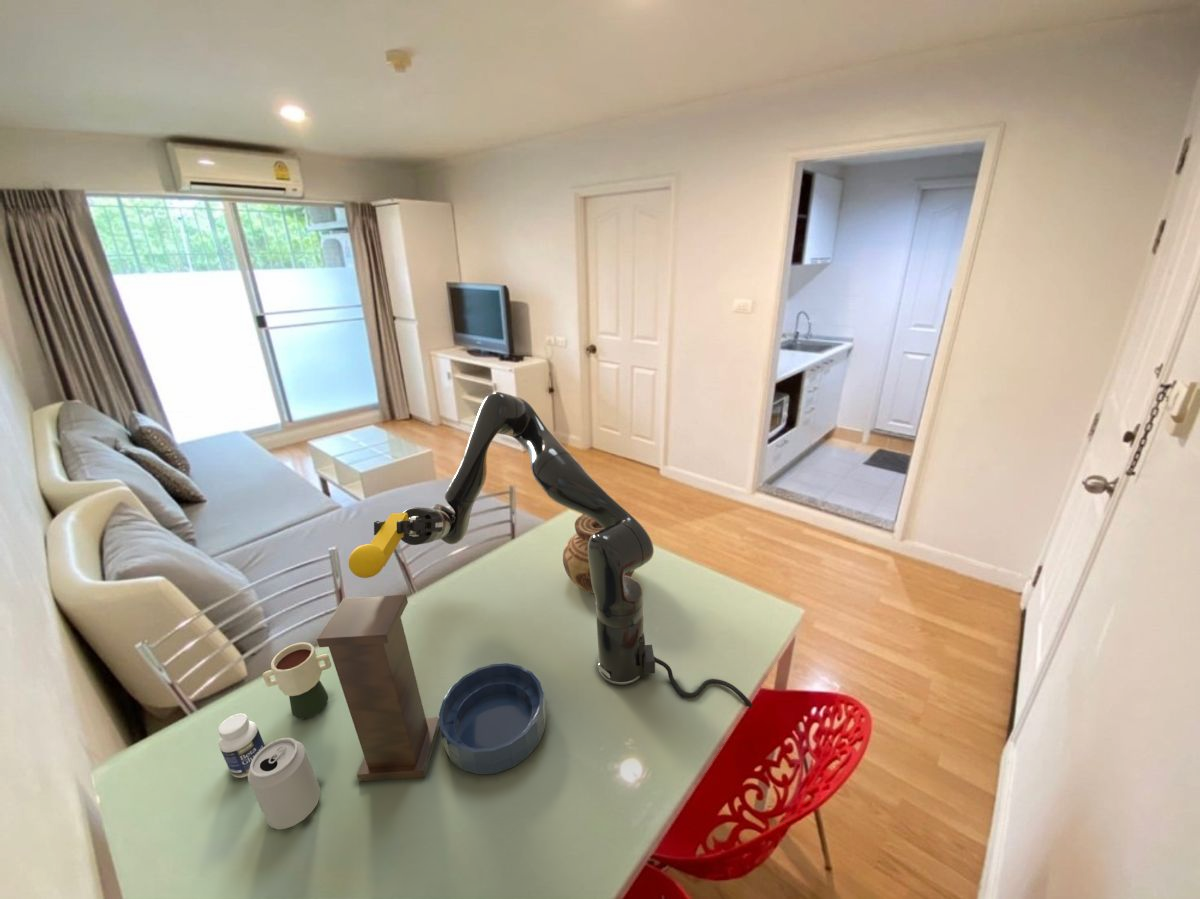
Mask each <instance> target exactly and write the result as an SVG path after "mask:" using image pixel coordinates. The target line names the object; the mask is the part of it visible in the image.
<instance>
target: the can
mask: <svg viewBox="0 0 1200 899" xmlns="http://www.w3.org/2000/svg"><path fill="white" fill-rule="evenodd" d="M247 781H248V785H249V786H250V788H251V791H252V793H253V794H254V797H255V799H256V802H257V803H258V805H259V808H260V810H261V812H262V814H263V816H264V818H265V820H266V823H267V824H268V825H269V826H270V828H272V829H275V830H286V829H288V828H291V827H294V826H296V825H298V824H299V823H301V822H303V821H304V820H305V819H306V818H307V817H309V815H310V814H311V813H312V812H313V811H314V809H315V808H316V807H317V805H318V803H319V800H320V799H321V791H322V789H321V787H320V784H319V782H318V779H317V776H316V774H315V771H314V768H313V766H312V764H311V761H310V758H309V755H308V752H307V751H306V748H305V746H304V744H303V743H301V741H298V740H296V739H294V738H291V737H282V738H279V739H276V740H273V741H271V742H269V743H268V744H265V747H263V748H262V749H261V750H260V751H259V752H258V753H257V754H256V755H255V756H254V758H253V760H252V762H251V765H250V770H249V773H248V776H247Z"/></svg>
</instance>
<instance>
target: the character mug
mask: <svg viewBox="0 0 1200 899" xmlns="http://www.w3.org/2000/svg"><path fill="white" fill-rule="evenodd" d="M322 661H323V662H324V664H322V665H321V664H320V662H322ZM270 668H271V669H270V670H266V671H265V672H263V673H262V678H263V680H264V683H265V686H266V687H269V688H270V687H273V686H278V689H279V690H280V692H281V693H282V694H283V695H284V696H287V697H288V698H289V704H290V709H291V715H292V716H293V717H295V718H296V719H302V720H305V719H309V718H312V717H314V716H315V715H317V714H318V713H319V712H321V711H322V710H323V708H324V707H325V706H326V704H327V703H328V700H329V694H328V692H327V691H326V689H325V688H326V687H324V685H323V683H322V682H321V677H322V676H321V675H322V672H323V671H326V670H329V669H330V668H332V662H331V659H330V656H329V654H327V653H324V654H321V655H317V652H316V649H315V646H314V645H313V644H311V643H310V642H305V641H303V642H296V643H293V644H291V645H288V646H287V647H286V646H285V648H283V649H282V650H280V651H279V652H277V654H276V655H275V656H274V657H273V659H272V660H271V662H270ZM272 676H273V677H274V679H271V677H272Z"/></svg>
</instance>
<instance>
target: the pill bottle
mask: <svg viewBox="0 0 1200 899" xmlns="http://www.w3.org/2000/svg"><path fill="white" fill-rule="evenodd" d="M217 729H218V734H219V737H220V738H219V740H218V747H219V750H220V753H221V754H222V757H223V759H224V761H225V763H226V765H227V767H228V769H229V772H230V774H231V775H232V776H233V777H235V778H237V779H238V778H245V777H248V773H249V770H250V765H251V762H252V760H253V758H254V756H255V755H256V754H257V753H258V752H259V751H260V750H261V749H262V748H263V747H265V746H266V744H265V742H264V740H263V738H262V735H261V734H260V730H259V728H258V725H257V723H255V722H254V721H252V720H249V718H248V716H247V715H246V714H245V713H242V712H241V713H235V714H233V715H231V716H229V717H227V718H226V719H224V720H223V721H222V722H221V723H220V724H219V727H218V728H217Z"/></svg>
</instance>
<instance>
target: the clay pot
mask: <svg viewBox="0 0 1200 899" xmlns="http://www.w3.org/2000/svg"><path fill="white" fill-rule="evenodd" d="M574 529H575V530H574V531H575V534H573V535H572V536H571V537H570V538H569V539H568V541H567V542H566V544H565V546H564V549H563V553H562V565H563V568H564V570H565V573H566V575H567V577H568V578H569V579H570V580H571V582H572V583H573V584H574V585H575V586H577V587H578V588H580V589H581V590H583V591H585V592H589V593H592V594H594V591H593V588H592V584H591V576H590V567H589V560H588V542H589V539H590V537H591V536H592V535H593V534H594V533H596V532H598V531H600V530H603V529H604V528H603V527H602V526H601V525H600V524H599V523H598V522H597V521H595V520H594V519H592V518H591V517H589V516H587V515H584V514H582V513H581V515H580V516H578V517H577V519H575V521H574ZM634 572H635V570H634V571H632V572H630V573H628V574H627V575H626V576H630V577H632V576H633V575H634Z"/></svg>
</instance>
